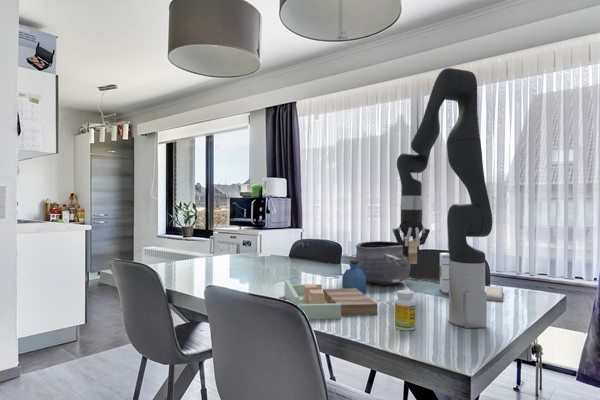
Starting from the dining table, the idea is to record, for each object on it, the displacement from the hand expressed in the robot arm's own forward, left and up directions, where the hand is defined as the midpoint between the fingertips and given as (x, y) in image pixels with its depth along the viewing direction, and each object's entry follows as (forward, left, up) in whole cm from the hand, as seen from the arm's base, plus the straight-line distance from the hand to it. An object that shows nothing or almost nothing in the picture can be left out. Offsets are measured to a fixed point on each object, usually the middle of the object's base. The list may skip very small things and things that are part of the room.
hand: (410, 256), depth 139 cm
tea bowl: (+24, +2, -15) cm, 28 cm away
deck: (-10, +26, -14) cm, 31 cm away
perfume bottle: (+7, +19, -15) cm, 25 cm away
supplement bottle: (-34, +17, -15) cm, 41 cm away
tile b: (-6, +36, -11) cm, 38 cm away
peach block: (-14, +35, -11) cm, 40 cm away
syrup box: (+6, -18, -15) cm, 24 cm away
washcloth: (-1, -29, -15) cm, 33 cm away
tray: (-10, +38, -14) cm, 42 cm away
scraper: (0, +3, -2) cm, 4 cm away
